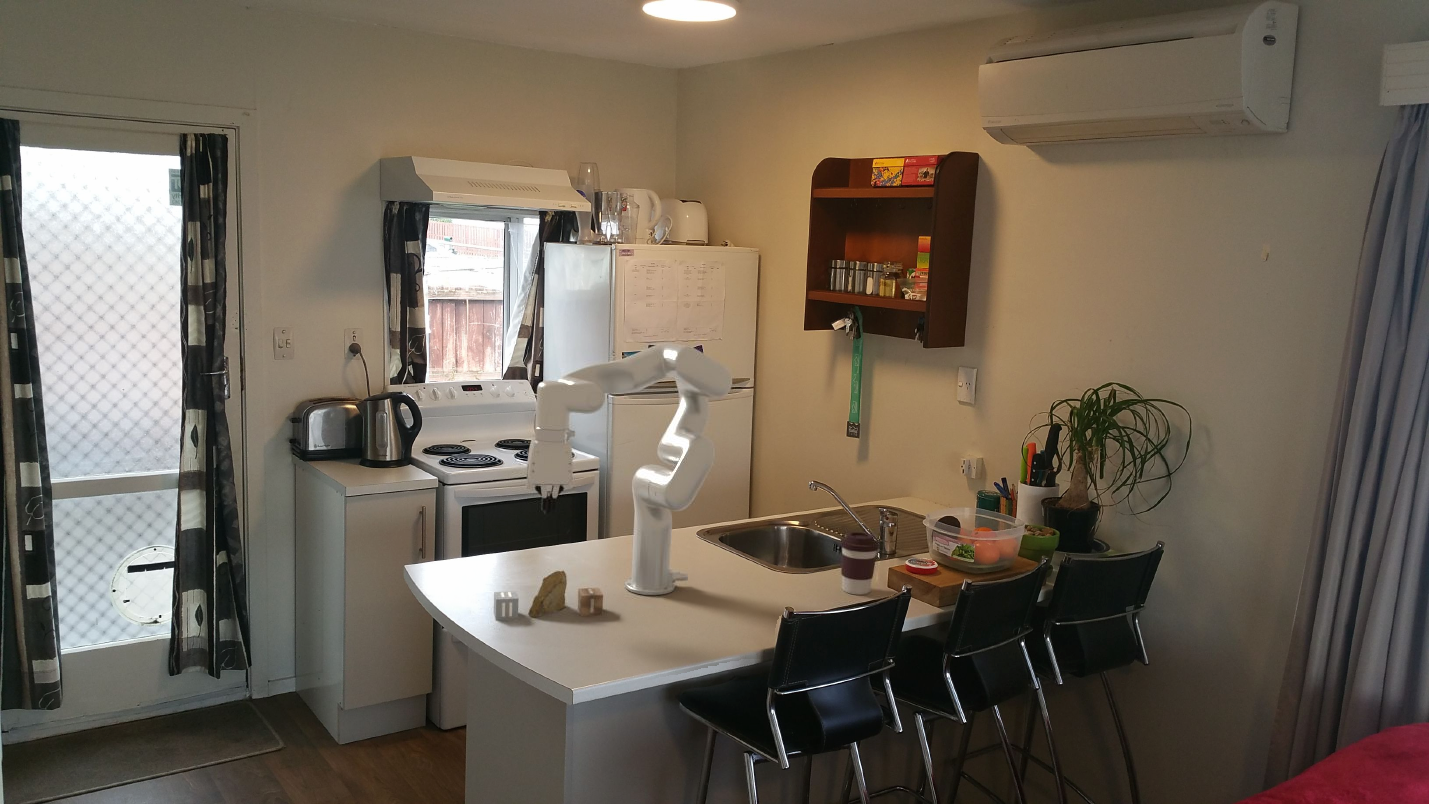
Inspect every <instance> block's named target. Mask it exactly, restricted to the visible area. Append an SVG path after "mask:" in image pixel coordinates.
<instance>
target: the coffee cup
mask: <svg viewBox="0 0 1429 804" xmlns="http://www.w3.org/2000/svg"><path fill="white" fill-rule="evenodd" d="M839 542H840V543H839V544H840V547H842V548H841V551H842V552H841V553H840V554H841V557H840V558H841V563H840V564H841V566H840V569H841V571H840V574H841V589H842V590H843V592H845V593H848V594H850V595H856V596H857V595H858V596H861V595H863V596H864V595H867V594H869V593H870V592H871V586H872V580H873V577H874V572H875V565H876V558H877V555H876V553H877V551H878V550H879V548H880V542H879V541H878V540H876V539H875V537H874V536H873V535H872V534H871V533H868V532H865V531H864V532H863V531H851V532H850V531H849V532H848V533H847V534H846V535H845V536H843V537H841V538H840V541H839Z"/></svg>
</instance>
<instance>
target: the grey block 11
mask: <svg viewBox="0 0 1429 804" xmlns="http://www.w3.org/2000/svg"><path fill="white" fill-rule="evenodd" d="M519 602H520V601H519V595H518V593H517V591H515V590H513V591H495V592H494V593H493V615H494V619H495V621H507V620H509V621H510V620H519Z"/></svg>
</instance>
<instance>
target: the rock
mask: <svg viewBox="0 0 1429 804" xmlns="http://www.w3.org/2000/svg"><path fill="white" fill-rule="evenodd" d="M567 583H568V582H567V574H566V572H565V570H558V571H557V570H556V571H554V572H552V573H551V574H548V575H547V576H546V577H544V578H543V579H542V583H541V586H540V588H539V590H538V591H537V592H538V593H537V594H536V595H535V597H534V598H533V601H532V604H531V606H530V608H529V610H528V613H527V615H529V616H530V617H532V618H539V617H542V616H545V615H547V614H551V613H554V612H557V611H559V610H563V609H564V608H565V607H566V596H565V595H566V589H567Z"/></svg>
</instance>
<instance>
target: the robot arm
mask: <svg viewBox="0 0 1429 804" xmlns="http://www.w3.org/2000/svg"><path fill="white" fill-rule="evenodd" d="M666 379H675V385H676V389H677V391H678V400H679V401H678V407H677V409H676V412H675V414H674V416H673V418H672V419H671V421H670V423H669V425H668V427H667V428H666V430H665V431H664V433H663V435H662V437H661V438H660V441H659V443H658V446H657V450H656V451H657V456H658V458H659V459H660V460H661V461H662V462H663V463H665V464H667V465H669V466H673V467H675V468H674V469H671V468H669V467H665V466H662V465H658V464H652V463H651V464H645V465H642V466H641V467H639V468H638V469H637V470H636V472H635V473H634V475H633V477H632V482H631V490H632V497H633V499H632V500H633V507H634V521H633V540H632V559H631V560H632V562H631V563H632V564H631V577H630V578H628V579H627V580H625V581H624V583H625V584H624V587H625V589H627V590H628V591H629V592H631V593H632V594H633V593H634V594H638V595H642V596H643V595H645V596H661V595H666V594H669V593H671V592H673V591H674V590H675V588H676V584H675V583H676V582H677V581H678V582H679V581H680V582H686V581H688V579H689V576H688V573H687V572H686V573H685V572H684V573H683V572H681V571H679V570H678V571H672V570H671V568H670V567H671V553H672V552H671V548H672V531H673V528H672V527H673V518H672V517H673V516H672V512H673V511H674V512H681V511H683V510H685V509H688V507H689V506H690V505H691V503H693V501H694V499H695V497H697V495H698V493H699V491H700V490H701V488H702V485H703V484H704V482H705V480H706V478H707V476H708V475H709V473H710V471H711V470H712V467H713V465H714V462H715V458H716V456H715V455H716V448H715V445H714V443H713V441H712V440H711V438H709V436H706V435H704V434H703V433H704V432H705V429H706V428H707V426H708V423H709V421H710V415H711V411H710V410H711V409H710V403H709V399H708V398H710V399H721V398H723V397H726V396H727V395H728V393H729V392H730V391H731V389H732V386H733V377H732V373H731V372H730V370H729V369H728V368H727V367H726V366H725V365H723V364H722V363H720V362H718V361H717V360H715V359H714V358H712V357H710V356H708V355H707V354H705V353H704V352H702V351H700V350H698V349H696V348H695V347H692V346H690V345H684V344H679V343H675V342H661V343H657V344H655V345H653V346H650V347H649V348H648V347H647V348H645V349H643V350H641V351H639V352H636V353H634V354H631V355H628V356H626V357H624V358H621V359H616V360H610V361H607V362H603V363H599V364H593V365H590V366H589V365H588V366H586V367H582V368H580V369H578V370H577V369H576V370H575V371H572V372H570V373H567V374H566V375H563V376H562V377H560V378H559V379H558V380H544V381H541V382H539V383H538V385H537V388H536V409H535V431H534V439H531V441H530V444H529V449H528V455H527V456H528V457H527V462H526V463H527V465H526V466H527V467H526V479H527V480H526V482H525V488H526V489H528V490H533V491H536V492H537V493H538V494H539V495H540V496H541V507H540V509H541V511H542V512H543V513H544V515H545V516H549V515H550V516H553V511H556V503H557V501H556V499H557V497H558V496H559V495H560V494H561V493H562V492H564V491H567V490H572V489H573V487H574V485H573V475H574V473H573V471H574V470H573V469H574V467H573V466H574V465H573V463H574V461H573V449H572V448H573V447H572V442H571V440H570V438H571V437H575V435H576V431H575V430H572V429H570V428H569V427H570V414H571V413H575V414H581V415H582V414H583V415H590V414H591V415H592V414H595V413H598V411H600V410H601V409H602V408H603V407H604V406H605V403H606V394H628V393H629V394H630V393H637V392H639V391H641V390H644V389H645V388H647V387H650V386H652V385H654V384H657V383H659V382H661V381H664V380H666ZM547 486H551V488H550V492H549V495H548V491H547Z"/></svg>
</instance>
